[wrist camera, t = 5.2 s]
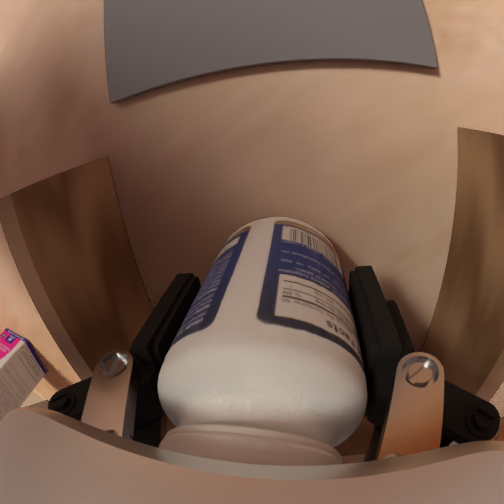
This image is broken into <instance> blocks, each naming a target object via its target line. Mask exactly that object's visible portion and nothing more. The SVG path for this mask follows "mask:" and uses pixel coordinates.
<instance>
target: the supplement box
mask: <svg viewBox="0 0 504 504" xmlns="http://www.w3.org/2000/svg"><path fill="white" fill-rule="evenodd" d="M46 373H47V370H46V368H45V367H44V365H43V364H42V362H41V361H40V359H39V358H38V356H37V354H36V353H35V351H34V349H33V348H32V346H31V344H30V343H29V341H28V340H26V339H24V338H22V337H20V336H18V335H17V334H15V333H13V332H12V331H10V330H9V329H5V330H4V331H3V332H2V333H1V334H0V421H1V420H2V418H3V417H4V416H5V415H6V414H7V413H8V412H10V411H11V410H13V409H16V408H20V406H21V405H22V403H23V402H24V401H25V400H26V398H27V397H28V396H29V394H30V393H31V392H32V390H33V389H34V388H35V387H36V385H37V384H38V383H39V382H40V380H41V379H42V378H43V377H44V375H45V374H46Z"/></svg>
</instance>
